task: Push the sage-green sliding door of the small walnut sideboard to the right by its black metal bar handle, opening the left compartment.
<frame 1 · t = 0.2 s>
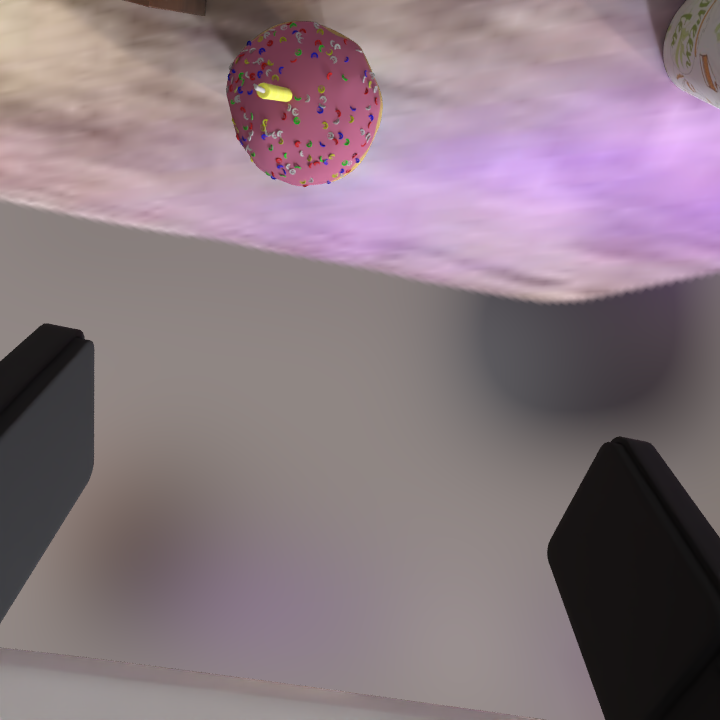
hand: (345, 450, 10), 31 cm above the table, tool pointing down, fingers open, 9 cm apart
cupcake: (312, 100, 36), on the table
mug: (695, 9, 34), on the table
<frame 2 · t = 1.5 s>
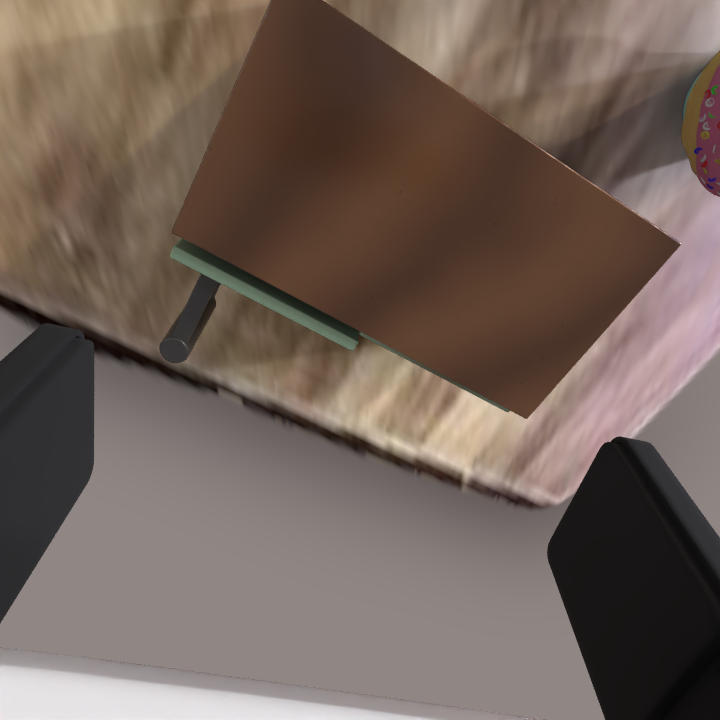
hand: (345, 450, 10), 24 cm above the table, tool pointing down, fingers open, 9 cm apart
sideboard: (409, 184, 32), on the table
sliding door: (257, 309, 30), point 5 cm above the table, slide at 0.0 cm
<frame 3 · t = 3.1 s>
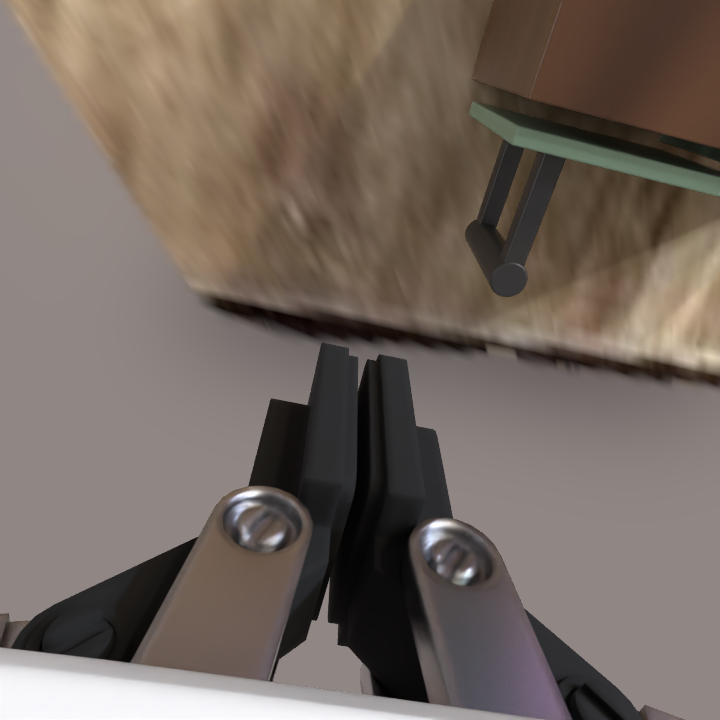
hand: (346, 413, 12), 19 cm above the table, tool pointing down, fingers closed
sideboard: (710, 3, 24), on the table
sliding door: (571, 213, 24), point 5 cm above the table, slide at 0.0 cm
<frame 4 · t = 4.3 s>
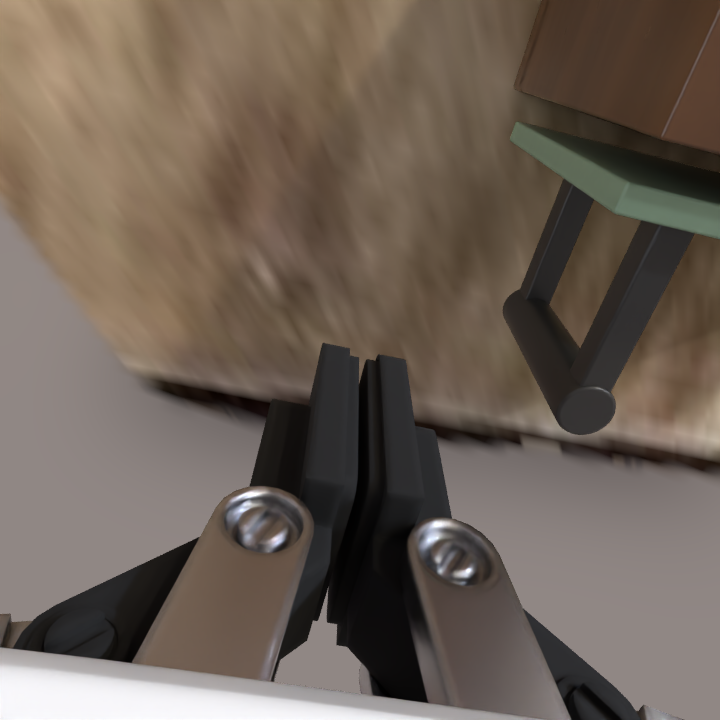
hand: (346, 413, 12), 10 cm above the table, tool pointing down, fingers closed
sliding door: (668, 292, 16), point 5 cm above the table, slide at 0.0 cm
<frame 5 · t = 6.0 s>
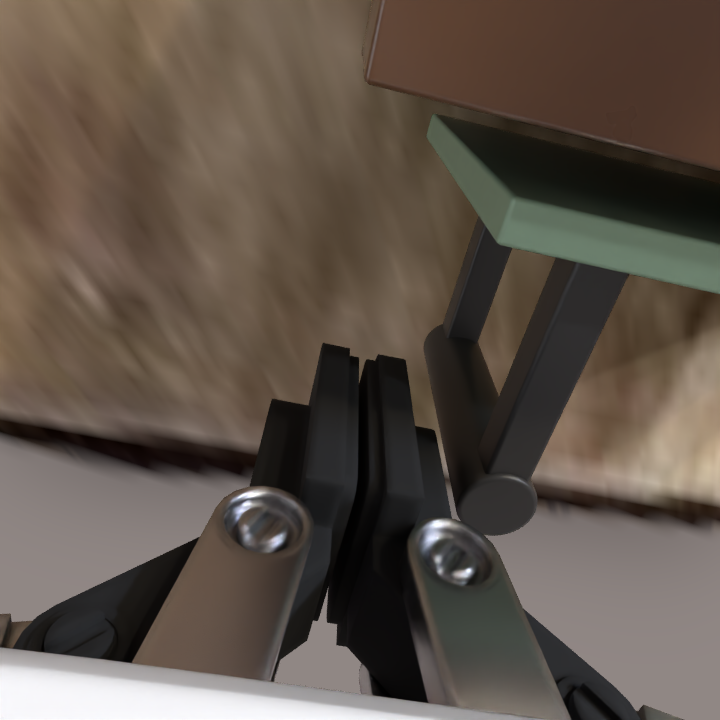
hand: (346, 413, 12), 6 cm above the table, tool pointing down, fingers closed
sliding door: (620, 333, 12), point 5 cm above the table, slide at 1.8 cm, touching gripper
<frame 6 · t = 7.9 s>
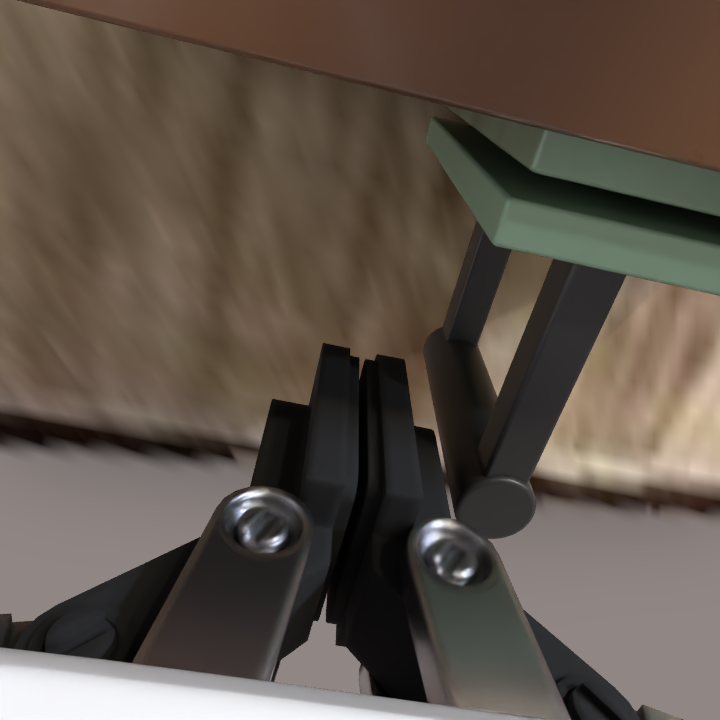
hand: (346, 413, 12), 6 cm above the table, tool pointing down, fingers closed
sliding door: (619, 335, 12), point 5 cm above the table, slide at 8.7 cm, touching gripper
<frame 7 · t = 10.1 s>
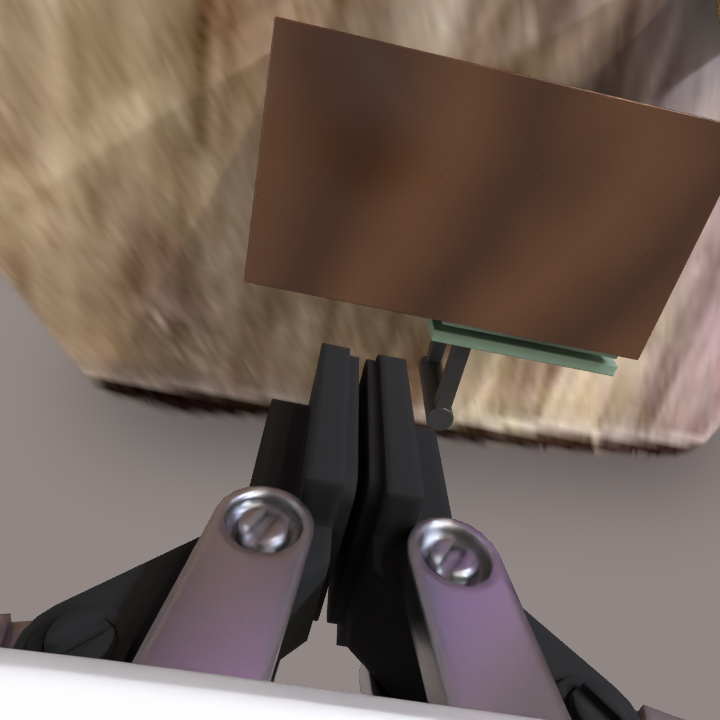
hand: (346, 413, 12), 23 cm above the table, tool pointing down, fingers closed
sideboard: (450, 167, 32), on the table
sliding door: (491, 360, 32), point 5 cm above the table, slide at 8.5 cm
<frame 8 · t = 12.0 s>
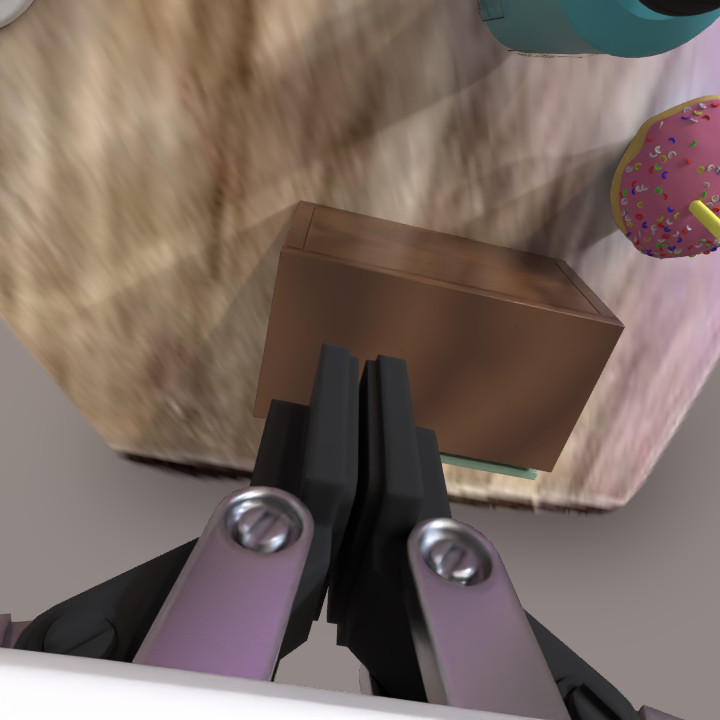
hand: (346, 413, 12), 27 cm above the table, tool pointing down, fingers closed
sideboard: (415, 300, 40), on the table
cupcake: (654, 165, 35), on the table
sliding door: (445, 454, 40), point 5 cm above the table, slide at 8.5 cm
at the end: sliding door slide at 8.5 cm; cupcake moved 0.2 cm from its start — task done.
